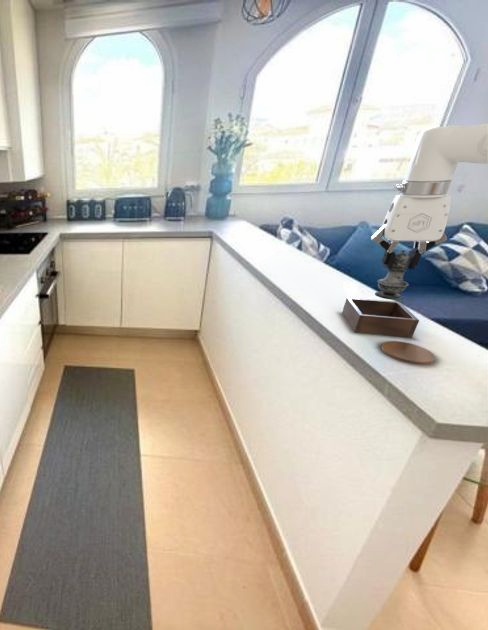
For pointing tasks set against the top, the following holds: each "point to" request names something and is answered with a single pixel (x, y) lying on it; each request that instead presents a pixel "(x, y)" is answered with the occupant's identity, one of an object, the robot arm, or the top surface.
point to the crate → (379, 317)
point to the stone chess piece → (394, 279)
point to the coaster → (408, 352)
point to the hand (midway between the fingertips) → (398, 266)
